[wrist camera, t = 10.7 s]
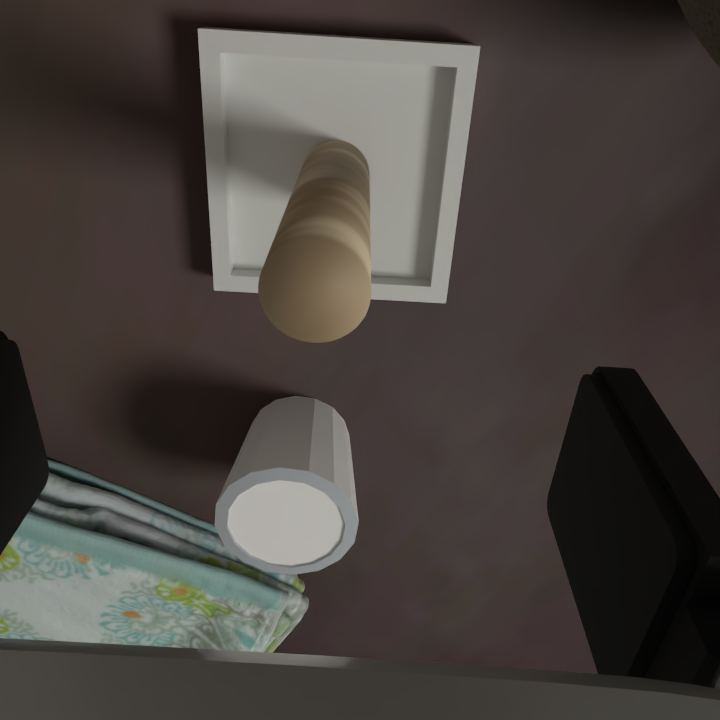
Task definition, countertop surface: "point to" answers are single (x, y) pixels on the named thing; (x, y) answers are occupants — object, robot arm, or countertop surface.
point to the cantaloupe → (704, 23)
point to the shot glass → (291, 490)
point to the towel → (135, 575)
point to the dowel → (322, 249)
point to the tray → (336, 122)
